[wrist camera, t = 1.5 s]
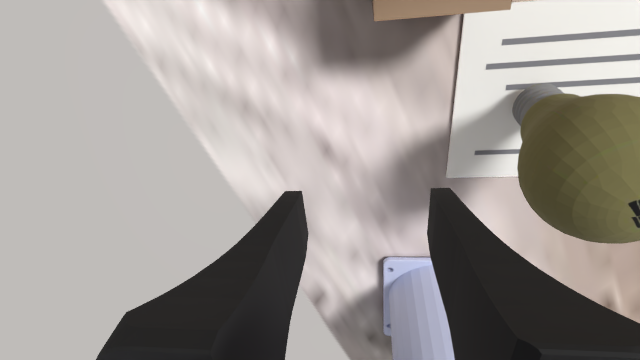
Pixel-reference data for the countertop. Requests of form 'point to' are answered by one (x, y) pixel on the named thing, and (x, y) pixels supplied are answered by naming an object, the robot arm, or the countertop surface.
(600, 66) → the letter
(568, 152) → the light bulb
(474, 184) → the countertop surface
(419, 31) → the countertop surface
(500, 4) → the walnut block
